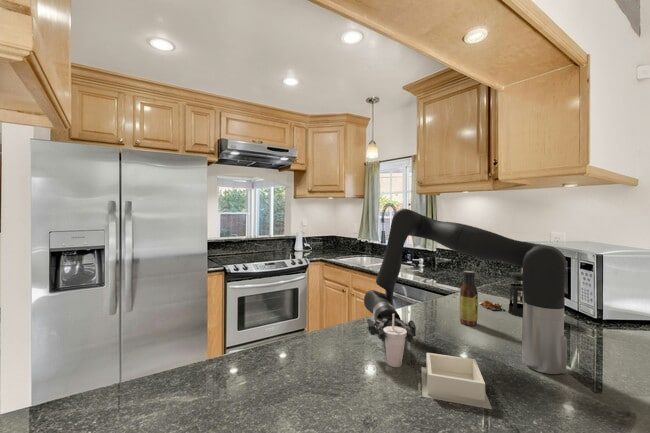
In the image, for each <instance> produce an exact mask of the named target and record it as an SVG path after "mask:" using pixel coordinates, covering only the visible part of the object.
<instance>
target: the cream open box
mask: <svg viewBox="0 0 650 433" xmlns="http://www.w3.org/2000/svg"><path fill="white" fill-rule="evenodd" d="M425 357H426V360H425V361H426V362H425V365H426V366H425V367H426V375H427V390H428V395H434V396H439V397H445V398H450V399H456V400H461V401H467V402H473V403H478V404H484V405H485V392H486V382H485V380H484V378H483V375H482V373H481V370H480V368H479V365H478V363H477V360H476V359H474V358H468V357H461V356H454V355H446V354H439V353H432V352H426V356H425Z"/></svg>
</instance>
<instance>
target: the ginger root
mask: <svg viewBox="0 0 650 433" xmlns="http://www.w3.org/2000/svg"><path fill="white" fill-rule="evenodd" d="M478 305H482V308H484V309H488V308H489V310H495V311H500V309H501V310H502V311H504V312H505V311H506V309H505V308H502V306H503V305H502V304H501V303H498V302H497V303H496V302H492V301H489V300H483V301H480V302H479V301H478Z"/></svg>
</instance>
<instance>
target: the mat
mask: <svg viewBox="0 0 650 433" xmlns="http://www.w3.org/2000/svg"><path fill="white" fill-rule="evenodd" d="M420 370H421V371H420V372H421V394H422V395H421V397H422V398H428V399H433V400H438V401H443V402H449V403H456V404H462V405H467V406H471V407H478V408H484V409H488V410H492V409H493V407H492V405H491V402H490V400H489V398H488V394H487V393H486V391H485V405H484V404H478V403H473V402H467V401H461V400H456V399H450V398H445V397H439V396H434V395H428V390H427V375H426V366H421V367H420Z"/></svg>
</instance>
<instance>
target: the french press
mask: <svg viewBox="0 0 650 433" xmlns="http://www.w3.org/2000/svg"><path fill="white" fill-rule="evenodd" d="M509 275H510V278H511V280H513V281H520V282H521V283H509V284H508V285H509V304H508V310H507V312H508V314H510V315H513V316H516V317H519V318H520V317H521V318H523V298H524V296H523V290H522V275H523V268H521V272H510V273H509ZM518 292H520V296H519V293H518Z"/></svg>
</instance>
